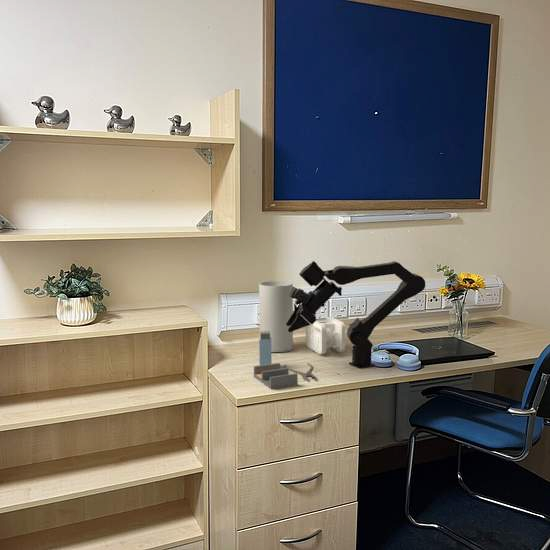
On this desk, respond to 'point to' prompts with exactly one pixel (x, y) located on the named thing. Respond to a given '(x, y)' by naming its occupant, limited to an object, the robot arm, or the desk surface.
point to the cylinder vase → (276, 313)
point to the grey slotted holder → (275, 376)
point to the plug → (265, 348)
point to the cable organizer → (326, 336)
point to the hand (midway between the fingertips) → (287, 328)
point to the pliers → (305, 375)
